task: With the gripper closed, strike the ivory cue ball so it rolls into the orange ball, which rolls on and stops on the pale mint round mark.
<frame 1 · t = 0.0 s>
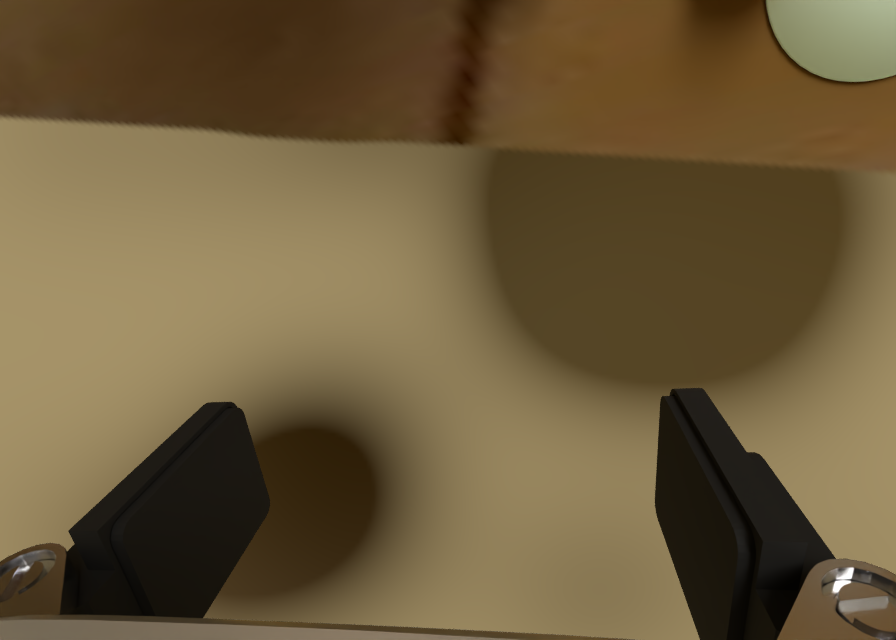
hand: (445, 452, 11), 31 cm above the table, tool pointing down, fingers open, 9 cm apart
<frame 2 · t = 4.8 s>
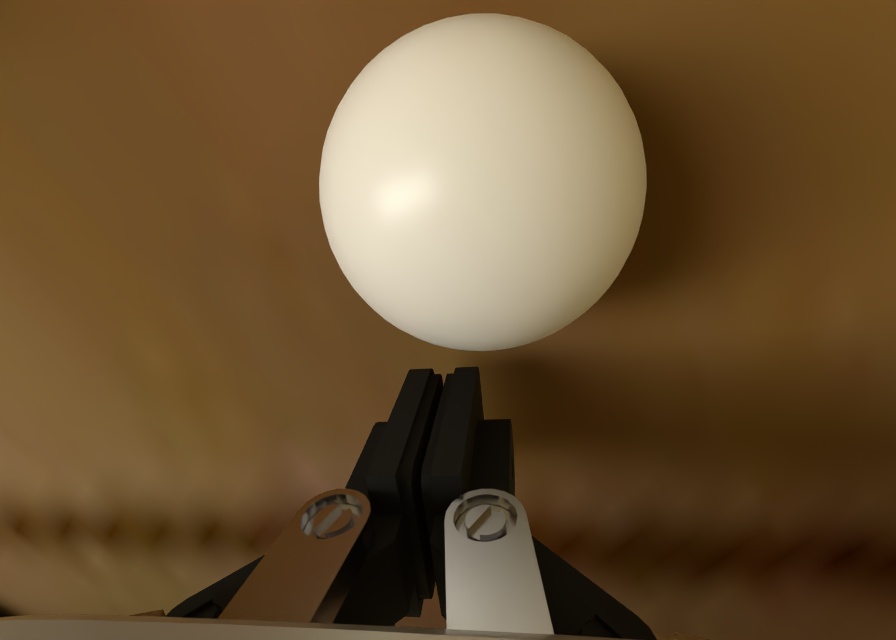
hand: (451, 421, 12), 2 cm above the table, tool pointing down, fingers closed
cue ball: (479, 195, 9), on the table
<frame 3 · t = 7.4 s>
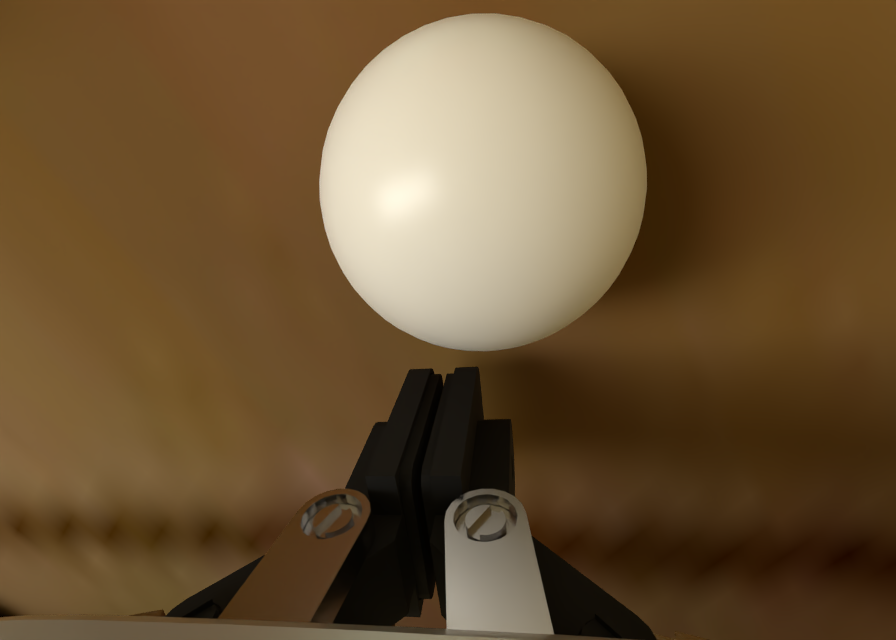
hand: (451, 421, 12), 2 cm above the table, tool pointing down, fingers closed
cue ball: (479, 195, 9), on the table
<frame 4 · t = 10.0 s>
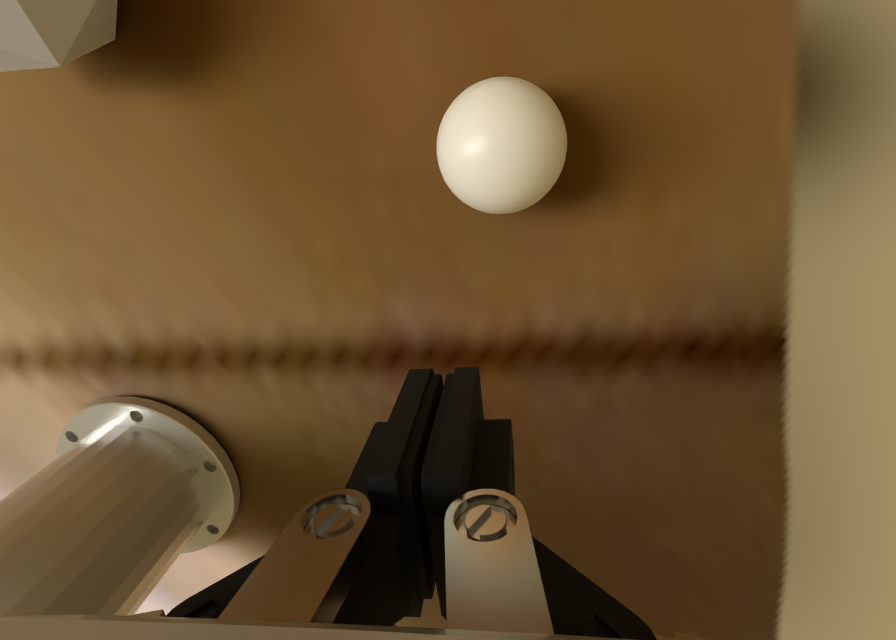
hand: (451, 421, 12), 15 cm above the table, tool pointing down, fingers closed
cue ball: (501, 148, 21), on the table
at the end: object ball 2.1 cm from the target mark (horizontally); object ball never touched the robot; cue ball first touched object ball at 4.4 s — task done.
